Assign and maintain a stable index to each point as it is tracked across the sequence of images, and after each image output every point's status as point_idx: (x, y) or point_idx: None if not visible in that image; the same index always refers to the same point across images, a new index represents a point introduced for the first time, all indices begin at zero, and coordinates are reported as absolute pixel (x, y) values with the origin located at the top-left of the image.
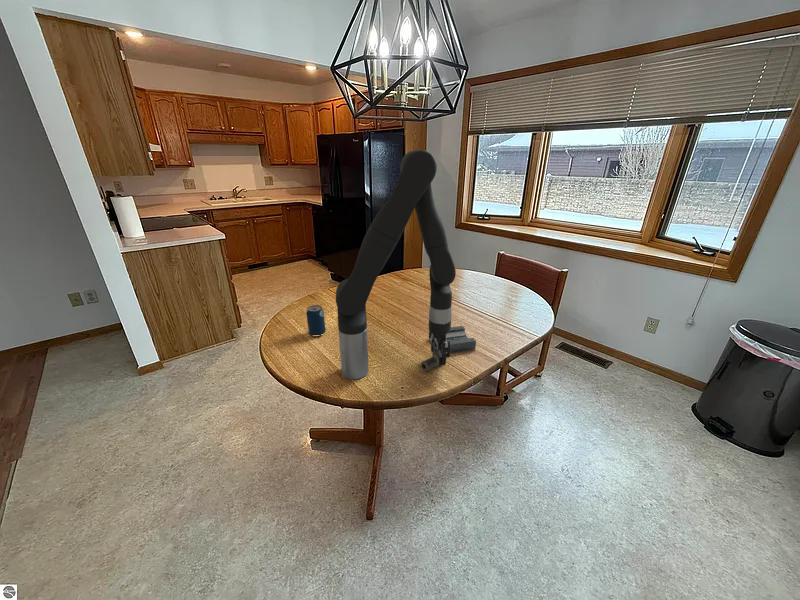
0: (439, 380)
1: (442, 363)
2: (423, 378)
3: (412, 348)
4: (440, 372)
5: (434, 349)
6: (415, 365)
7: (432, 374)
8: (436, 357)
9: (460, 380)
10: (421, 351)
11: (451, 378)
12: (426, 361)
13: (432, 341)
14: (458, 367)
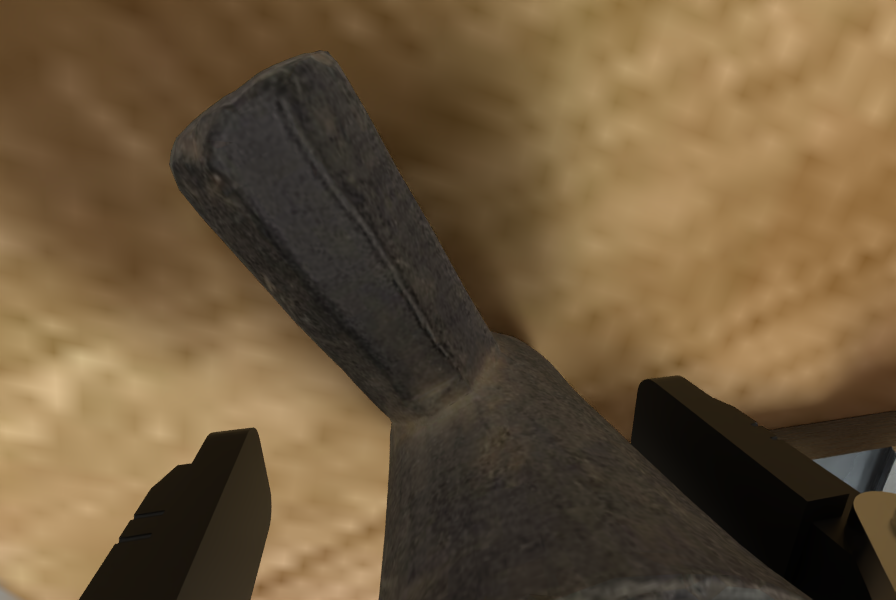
0: (47, 311)
1: (150, 512)
2: (97, 59)
3: (884, 134)
4: (258, 368)
5: (510, 549)
6: (495, 38)
7: (214, 247)
8: (415, 435)
9: (63, 555)
10: (770, 241)
11: (107, 470)
12: (257, 180)
13: (884, 595)
14: (339, 571)
